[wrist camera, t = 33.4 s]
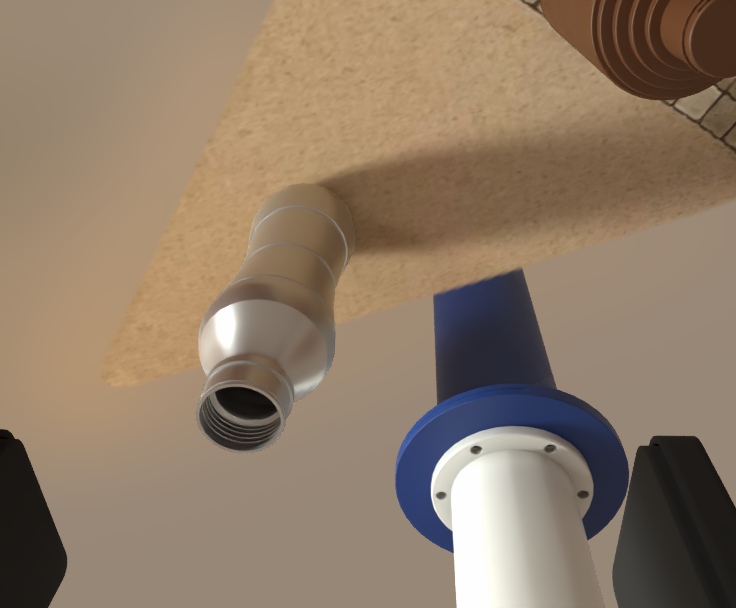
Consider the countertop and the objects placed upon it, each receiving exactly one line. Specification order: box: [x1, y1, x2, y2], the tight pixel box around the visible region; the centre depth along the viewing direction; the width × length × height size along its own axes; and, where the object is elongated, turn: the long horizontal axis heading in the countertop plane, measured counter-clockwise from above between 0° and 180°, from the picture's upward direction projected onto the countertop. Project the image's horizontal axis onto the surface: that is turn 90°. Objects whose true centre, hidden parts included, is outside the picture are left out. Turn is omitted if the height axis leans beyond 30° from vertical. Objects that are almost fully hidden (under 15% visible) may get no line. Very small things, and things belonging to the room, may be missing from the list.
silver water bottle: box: [196, 183, 355, 453], centre depth 36 cm, size 6×7×20 cm
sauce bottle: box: [540, 0, 736, 100], centre depth 28 cm, size 6×6×18 cm
